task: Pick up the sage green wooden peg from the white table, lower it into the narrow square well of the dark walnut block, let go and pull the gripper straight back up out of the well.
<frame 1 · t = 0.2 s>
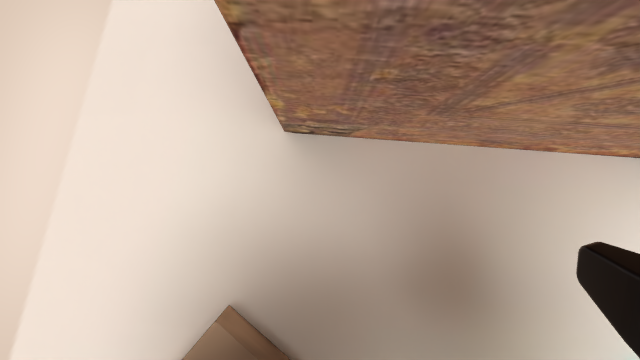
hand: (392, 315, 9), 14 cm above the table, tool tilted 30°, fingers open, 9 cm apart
book: (493, 73, 24), on the table
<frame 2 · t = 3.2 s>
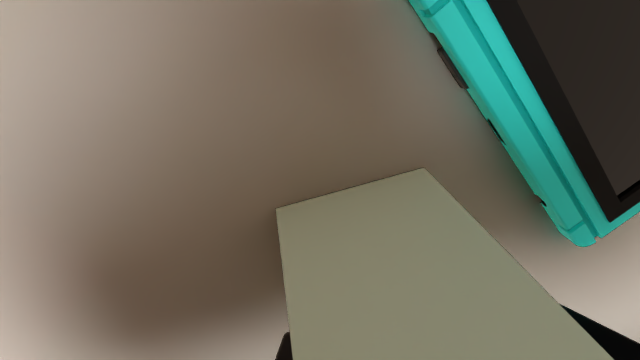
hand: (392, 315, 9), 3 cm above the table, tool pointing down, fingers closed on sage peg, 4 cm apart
sage peg: (363, 248, 11), on the table, touching gripper
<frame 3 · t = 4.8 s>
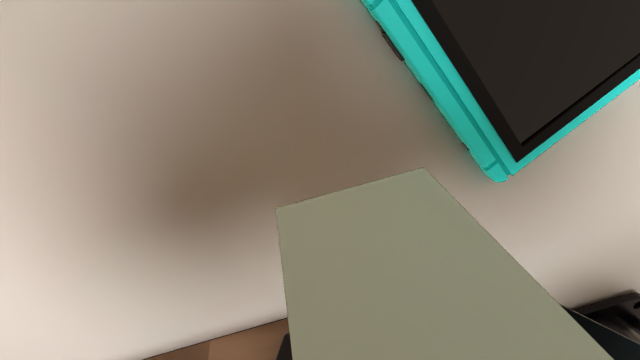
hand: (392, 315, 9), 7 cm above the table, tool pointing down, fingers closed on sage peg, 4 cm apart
sage peg: (363, 248, 11), point 4 cm above the table, touching gripper
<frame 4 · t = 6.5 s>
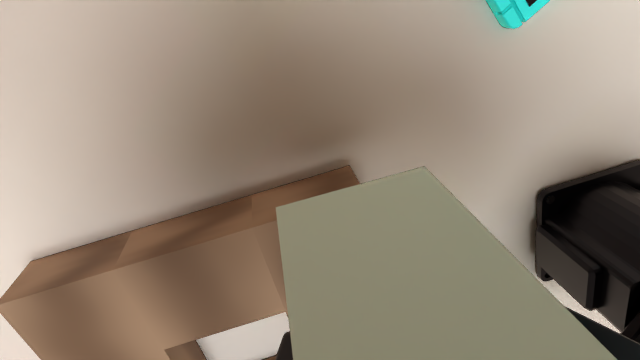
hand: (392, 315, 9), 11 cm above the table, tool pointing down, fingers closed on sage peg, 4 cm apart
sage peg: (363, 247, 11), point 8 cm above the table, touching gripper
walnut well block: (246, 326, 23), on the table
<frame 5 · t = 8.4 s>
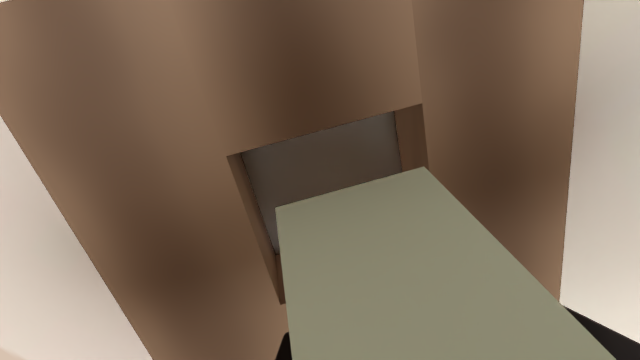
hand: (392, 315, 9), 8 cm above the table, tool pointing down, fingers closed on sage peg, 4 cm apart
sage peg: (363, 247, 11), point 5 cm above the table, touching gripper
walnut well block: (328, 175, 16), on the table
when the fingers open (4 cm above the table, at t = 9.9 s): sage peg drops 1 cm, resting in walnut well block.
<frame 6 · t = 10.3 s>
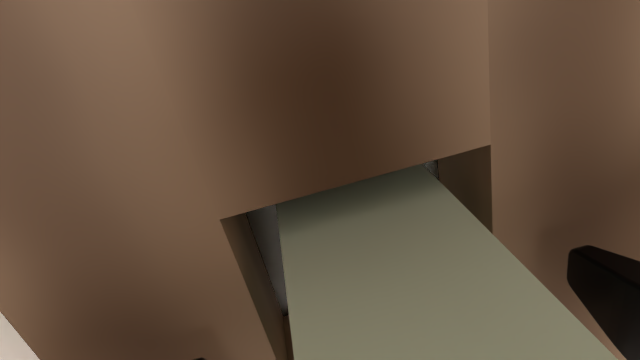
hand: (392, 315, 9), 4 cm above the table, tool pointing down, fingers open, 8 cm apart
sage peg: (351, 220, 12), resting in walnut well block
walnut well block: (350, 222, 12), on the table
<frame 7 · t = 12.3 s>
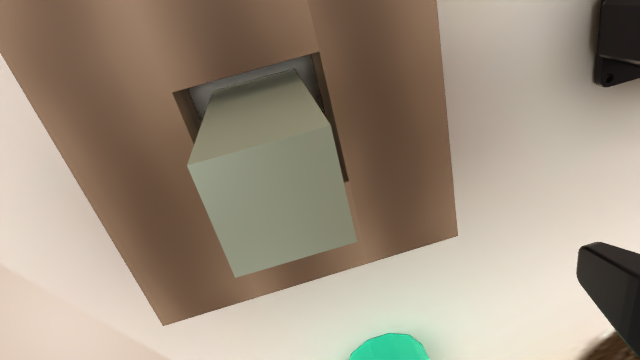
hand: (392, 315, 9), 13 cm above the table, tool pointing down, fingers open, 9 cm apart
sage peg: (265, 119, 19), resting in walnut well block
walnut well block: (265, 120, 19), on the table
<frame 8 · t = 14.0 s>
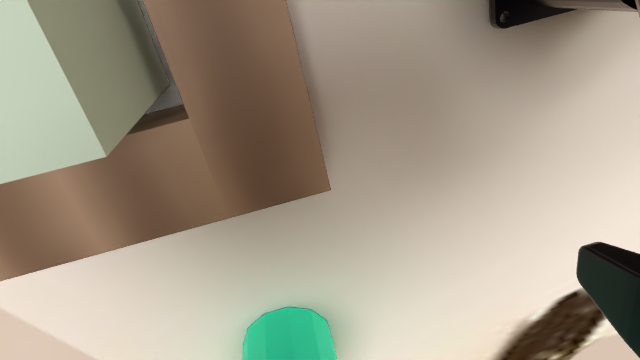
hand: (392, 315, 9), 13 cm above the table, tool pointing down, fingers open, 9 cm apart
candle: (287, 338, 27), on the table
sage peg: (108, 51, 17), resting in walnut well block
walnut well block: (107, 53, 17), on the table
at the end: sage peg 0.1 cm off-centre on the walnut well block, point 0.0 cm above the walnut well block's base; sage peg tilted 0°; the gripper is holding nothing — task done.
